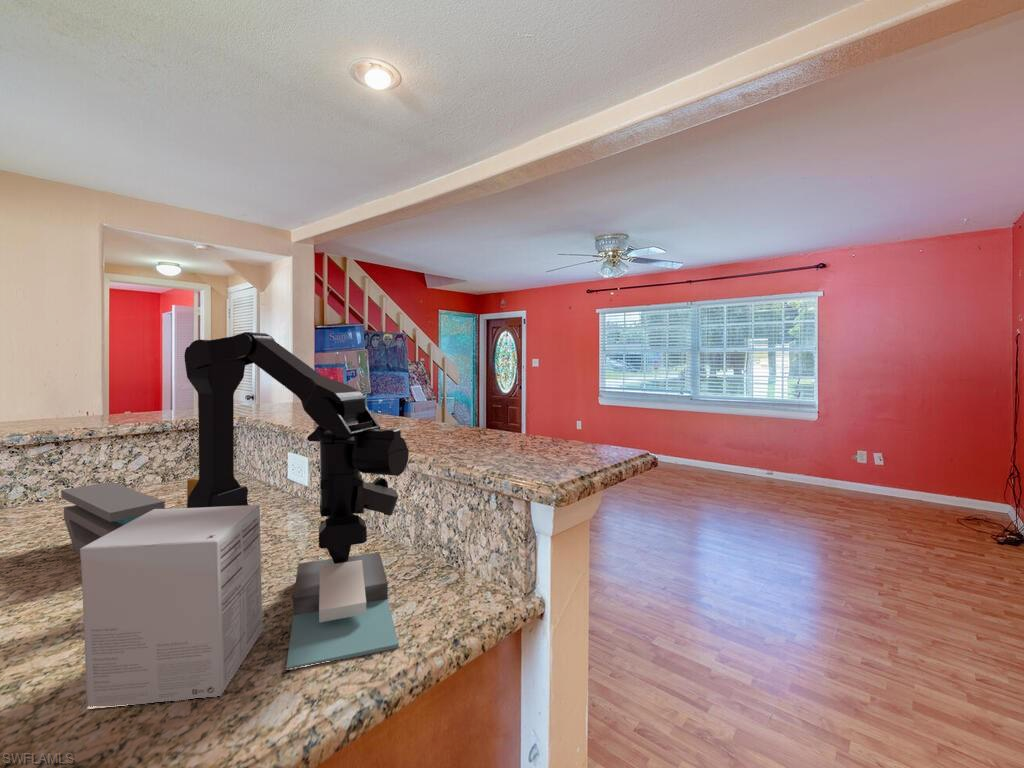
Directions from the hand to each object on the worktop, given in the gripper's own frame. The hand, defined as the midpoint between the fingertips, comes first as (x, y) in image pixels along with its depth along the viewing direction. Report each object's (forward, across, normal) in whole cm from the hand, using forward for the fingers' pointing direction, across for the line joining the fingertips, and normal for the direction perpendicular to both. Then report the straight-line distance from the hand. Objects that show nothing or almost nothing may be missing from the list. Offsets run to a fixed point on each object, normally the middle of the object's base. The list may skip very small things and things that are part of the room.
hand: (342, 570), depth 72 cm
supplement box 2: (+4, +47, +29) cm, 55 cm away
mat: (+4, -10, 0) cm, 11 cm away
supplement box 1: (+4, -11, +18) cm, 21 cm away
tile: (0, -6, 0) cm, 6 cm away
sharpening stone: (+4, +33, +40) cm, 52 cm away
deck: (+4, +2, 0) cm, 4 cm away
